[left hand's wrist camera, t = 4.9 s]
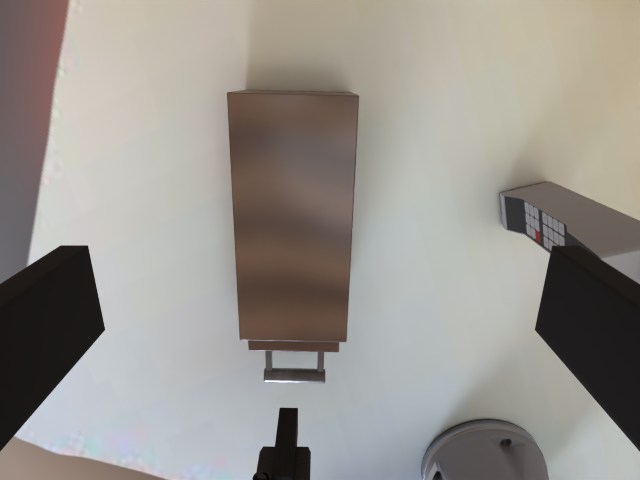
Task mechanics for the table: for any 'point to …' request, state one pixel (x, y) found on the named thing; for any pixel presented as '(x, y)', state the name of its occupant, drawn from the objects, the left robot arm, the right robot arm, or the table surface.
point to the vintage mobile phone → (573, 224)
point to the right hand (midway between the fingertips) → (288, 421)
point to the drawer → (294, 373)
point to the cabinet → (293, 211)
